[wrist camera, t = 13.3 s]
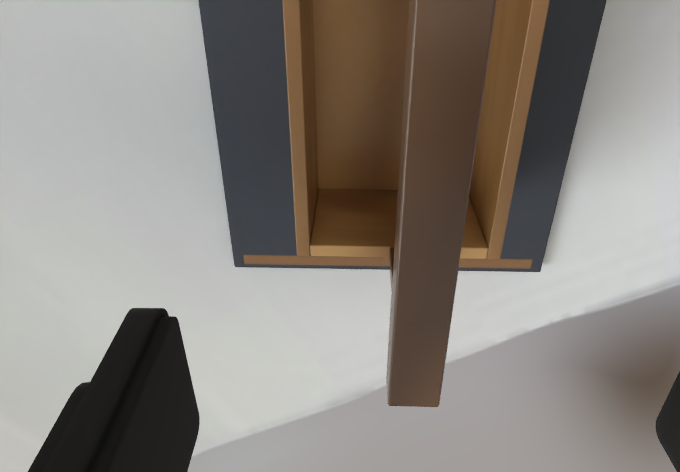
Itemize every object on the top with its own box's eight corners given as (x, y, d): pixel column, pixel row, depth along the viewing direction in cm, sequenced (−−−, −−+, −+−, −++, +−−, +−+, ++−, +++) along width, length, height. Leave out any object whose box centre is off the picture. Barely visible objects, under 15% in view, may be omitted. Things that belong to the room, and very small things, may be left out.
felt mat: (236, 261, 32) (234, 267, 31) (173, -210, 20) (168, -214, 20) (537, 266, 31) (540, 272, 31) (653, -216, 20) (661, -219, 19)
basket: (308, 193, 29) (269, 403, 17) (297, -60, 22) (224, -15, 10) (475, 195, 28) (559, 410, 16) (514, -61, 22) (697, -15, 10)
